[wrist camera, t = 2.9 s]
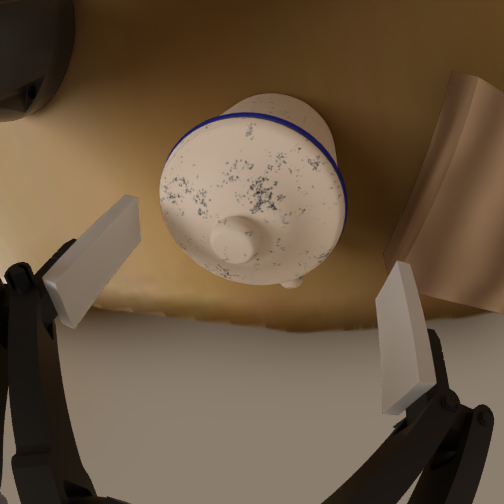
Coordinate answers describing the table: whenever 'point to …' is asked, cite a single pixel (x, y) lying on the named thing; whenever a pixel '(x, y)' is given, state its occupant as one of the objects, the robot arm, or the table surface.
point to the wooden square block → (459, 202)
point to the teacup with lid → (256, 192)
